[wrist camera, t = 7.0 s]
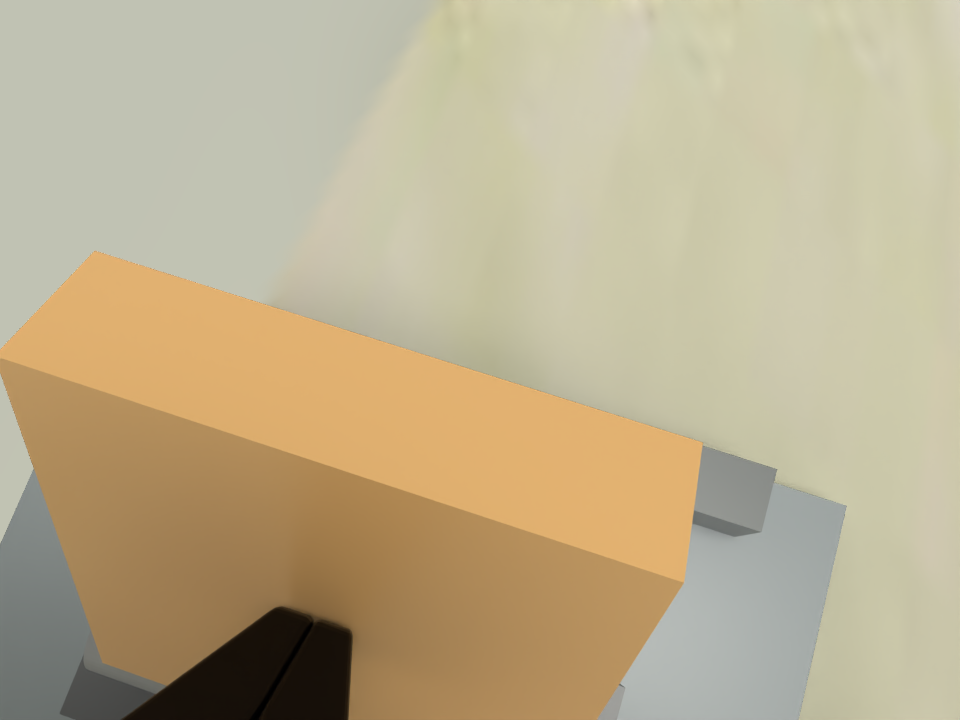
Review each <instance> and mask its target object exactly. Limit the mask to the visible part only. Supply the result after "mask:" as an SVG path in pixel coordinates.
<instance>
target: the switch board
mask: <svg viewBox="0 0 960 720" xmlns="http://www.w3.org/2000/svg"><path fill="white" fill-rule="evenodd" d="M776 471H777V469H775V468H772V467H768V466H765V465H762V464H759V463H756V462H753V461H749V460H746V459H743V458H740V457H737V456H734V455H730V454H727V453H724V452H721V451H718V450H715V449H711V448H708V447H705V446H702V453H701V460H700V468H699V475H698V483H697V490H696V498H695V505H694V513H693V520H692V528H691V535H690V543H689V550H688V558H687V565H686V573H685V580H684V584H683V585H682V587H681V588H680V590H679V592H678V593H677V595H676V596H675V598H674V599H673V601H672V603H671V604H670V606H669V607H668V609H667V610H666V612H665V614H664V615H663V617H662V618H661V620H660V621H659V623H658V625H657V626H656V628H655V629H654V631H653V632H652V634H651V635H650V637H649V639H648V640H647V642H646V643H645V645H644V646H643V648H642V650H641V651H640V653H639V654H638V656H637V657H636V659H635V661H634V662H633V664H632V665H631V667H630V668H629V670H628V672H627V673H626V675H625V676H624V678H623V679H622V681H621V682H620V684H619V686H618V687H617V689H616V690H615V692H614V693H613V695H612V697H611V698H610V700H609V701H608V703H607V704H606V706H605V708H604V709H603V711H602V712H601V714H600V715H599V717H598V718H597V720H799V715H800V711H801V706H802V702H803V697H804V693H805V689H806V684H807V680H808V675H809V671H810V666H811V662H812V658H813V653H814V649H815V644H816V640H817V635H818V631H819V626H820V622H821V618H822V613H823V609H824V604H825V600H826V595H827V591H828V587H829V582H830V578H831V573H832V569H833V564H834V560H835V556H836V551H837V547H838V542H839V538H840V533H841V529H842V524H843V520H844V516H845V511H846V507H847V506H846V505H842V504H839V503H836V502H833V501H830V500H827V499H823V498H820V497H817V496H814V495H811V494H808V493H805V492H801V491H798V490H795V489H792V488H789V487H786V486H782V485H779V484H776V483H774V480H775V476H776ZM90 631H91V629H90V626H89V623H88V620H87V618H86V615H85V612H84V609H83V606H82V603H81V601H80V598H79V595H78V592H77V589H76V586H75V584H74V581H73V578H72V575H71V572H70V569H69V567H68V564H67V561H66V558H65V555H64V552H63V550H62V547H61V544H60V541H59V538H58V535H57V532H56V530H55V527H54V524H53V521H52V518H51V515H50V513H49V510H48V507H47V504H46V501H45V498H44V496H43V493H42V490H41V487H40V484H39V481H38V479H37V476H36V473H35V470H33V472H32V474H31V477H30V479H29V481H28V483H27V485H26V488H25V490H24V492H23V494H22V497H21V499H20V501H19V503H18V506H17V508H16V510H15V513H14V515H13V517H12V519H11V521H10V524H9V526H8V528H7V530H6V533H5V535H4V537H3V540H2V542H1V544H0V720H121V719H122V718H123V717H125V716H126V715H128V714H129V713H130V712H132V711H133V710H134V709H136V708H137V707H139V706H140V705H141V704H143V703H144V702H145V701H147V700H148V699H149V698H151V697H152V696H154V695H155V694H154V693H152V692H149V691H146V690H143V689H140V688H138V687H135V686H132V685H129V684H126V683H123V682H121V681H118V680H115V679H112V678H109V677H107V676H104V675H101V674H98V673H95V672H93V671H90V670H87V669H86V668H85V666H84V660H83V659H84V650H85V646H86V642H87V639H88V636H89V633H90Z"/></svg>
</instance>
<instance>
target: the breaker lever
mask: <svg viewBox="0 0 960 720" xmlns="http://www.w3.org/2000/svg"><path fill="white" fill-rule="evenodd" d="M0 374H1V376H2V379H3V382H4V385H5V388H6V391H7V393H8V396H9V399H10V402H11V405H12V408H13V411H14V413H15V416H16V419H17V422H18V425H19V427H20V430H21V433H22V436H23V439H24V442H25V444H26V447H27V450H28V453H29V456H30V459H31V462H32V464H33V467H34V470H35V473H36V476H37V479H38V481H39V484H40V487H41V490H42V493H43V496H44V498H45V501H46V504H47V507H48V510H49V513H50V515H51V518H52V521H53V524H54V527H55V530H56V532H57V535H58V538H59V541H60V544H61V547H62V550H63V552H64V555H65V558H66V561H67V564H68V567H69V569H70V572H71V575H72V578H73V581H74V584H75V586H76V589H77V592H78V595H79V598H80V601H81V603H82V606H83V609H84V612H85V615H86V618H87V620H88V623H89V626H90V629H91V631H90V633H89V636H88V639H87V642H86V646H85V650H84V659H83V660H84V666H85V668H86V669H87V670H90V671H93V672H95V673H98V674H101V675H104V676H107V677H109V678H112V679H115V680H118V681H121V682H123V683H126V684H129V685H132V686H135V687H138V688H140V689H143V690H146V691H149V692H152V693H154V694H156V693H158V692H159V691H160V690H162V689H163V688H165V687H166V686H167V685H169V684H170V683H171V682H173V681H174V680H176V679H177V678H178V677H180V676H181V675H182V674H184V673H185V672H186V671H188V670H189V669H191V668H192V667H193V666H195V665H196V664H197V663H199V662H200V661H202V660H203V659H204V658H206V657H207V656H208V655H210V654H211V653H213V652H214V651H215V650H217V649H218V648H219V647H221V646H222V645H223V644H225V643H226V642H228V641H229V640H230V639H232V638H233V637H234V636H236V635H237V634H239V633H240V632H241V631H243V630H244V629H245V628H247V627H248V626H250V625H251V624H252V623H254V622H255V621H256V620H258V619H259V618H260V617H262V616H263V615H265V614H266V613H267V612H269V611H270V610H272V609H273V608H275V607H279V606H284V607H287V608H290V609H293V610H296V611H299V612H302V613H305V614H308V615H310V616H311V617H312V618H313V619H314V623H315V622H316V621H317V620H325V621H328V622H331V623H334V624H337V625H340V626H343V627H345V628H348V629H350V630H351V631H352V634H353V646H352V665H351V684H350V703H349V720H597V718H598V717H599V715H600V714H601V712H602V711H603V709H604V708H605V706H606V704H607V703H608V701H609V700H610V698H611V697H612V695H613V693H614V692H615V690H616V689H617V687H618V686H619V684H620V682H621V681H622V679H623V678H624V676H625V675H626V673H627V672H628V670H629V668H630V667H631V665H632V664H633V662H634V661H635V659H636V657H637V656H638V654H639V653H640V651H641V650H642V648H643V646H644V645H645V643H646V642H647V640H648V639H649V637H650V635H651V634H652V632H653V631H654V629H655V628H656V626H657V625H658V623H659V621H660V620H661V618H662V617H663V615H664V614H665V612H666V610H667V609H668V607H669V606H670V604H671V603H672V601H673V599H674V598H675V596H676V595H677V593H678V592H679V590H680V588H681V587H682V585H683V584H684V580H685V573H686V565H687V558H688V550H689V543H690V535H691V528H692V520H693V513H694V505H695V498H696V490H697V483H698V475H699V468H700V460H701V453H702V445H703V442H699V441H696V440H693V439H690V438H687V437H684V436H680V435H677V434H674V433H671V432H668V431H665V430H661V429H658V428H655V427H652V426H649V425H646V424H642V423H639V422H636V421H633V420H630V419H627V418H623V417H620V416H617V415H614V414H611V413H608V412H604V411H601V410H598V409H595V408H592V407H588V406H585V405H582V404H579V403H576V402H573V401H569V400H566V399H563V398H560V397H557V396H554V395H550V394H547V393H544V392H541V391H538V390H535V389H531V388H528V387H525V386H522V385H519V384H516V383H512V382H509V381H506V380H503V379H500V378H497V377H493V376H490V375H487V374H484V373H481V372H478V371H474V370H471V369H468V368H465V367H462V366H459V365H455V364H452V363H449V362H446V361H443V360H440V359H436V358H433V357H430V356H427V355H424V354H421V353H417V352H414V351H411V350H408V349H405V348H401V347H398V346H395V345H392V344H389V343H386V342H382V341H379V340H376V339H373V338H370V337H367V336H363V335H360V334H357V333H354V332H351V331H348V330H344V329H341V328H338V327H335V326H332V325H329V324H325V323H322V322H319V321H316V320H313V319H310V318H306V317H303V316H300V315H297V314H294V313H291V312H287V311H284V310H281V309H278V308H275V307H272V306H268V305H265V304H262V303H259V302H256V301H253V300H249V299H246V298H243V297H240V296H237V295H233V294H230V293H227V292H224V291H221V290H218V289H214V288H211V287H208V286H205V285H202V284H198V283H195V282H192V281H189V280H186V279H183V278H179V277H176V276H173V275H170V274H167V273H164V272H160V271H157V270H154V269H151V268H148V267H145V266H142V265H138V264H135V263H132V262H128V261H125V260H122V259H119V258H116V257H113V256H110V255H107V254H104V253H100V252H97V251H94V252H93V253H92V254H91V255H90V256H89V257H88V258H87V259H86V260H85V262H84V263H83V264H82V265H81V266H80V267H79V268H78V269H77V270H76V271H75V272H74V273H73V274H72V275H71V276H70V277H69V278H68V279H67V280H66V281H65V282H64V283H63V284H62V285H61V287H60V288H59V289H58V290H57V291H56V292H55V293H54V294H53V295H52V296H51V297H50V298H49V299H48V300H47V301H46V302H45V303H44V304H43V305H42V306H41V308H39V310H38V311H37V312H36V313H35V314H34V315H33V316H32V317H31V318H30V319H29V320H28V321H27V322H26V323H25V324H24V325H23V326H22V327H21V328H20V329H19V330H18V331H17V333H16V334H15V335H14V336H13V337H12V338H11V339H10V340H9V341H8V342H7V343H6V344H5V345H4V346H3V347H2V348H1V349H0Z"/></svg>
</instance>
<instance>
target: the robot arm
mask: <svg viewBox="0 0 960 720" xmlns="http://www.w3.org/2000/svg"><path fill="white" fill-rule="evenodd" d="M352 646H353V634H352V631H351V630H350V629H348V628H345V627H343V626H340V625H337V624H334V623H331V622H328V621H325V620H317V621H316V622H315V623H314V619H313V618H312V617H311V616H310V615H308V614H305V613H302V612H299V611H296V610H293V609H290V608H287V607H284V606H279V607H275V608H273V609H272V610H270V611H269V612H267V613H266V614H265V615H263V616H262V617H260V618H259V619H258V620H256V621H255V622H254V623H252V624H251V625H250V626H248V627H247V628H245V629H244V630H243V631H241V632H240V633H239V634H237V635H236V636H234V637H233V638H232V639H230V640H229V641H228V642H226V643H225V644H223V645H222V646H221V647H219V648H218V649H217V650H215V651H214V652H213V653H211V654H210V655H208V656H207V657H206V658H204V659H203V660H202V661H200V662H199V663H197V664H196V665H195V666H193V667H192V668H191V669H189V670H188V671H186V672H185V673H184V674H182V675H181V676H180V677H178V678H177V679H176V680H174V681H173V682H171V683H170V684H169V685H167V686H166V687H165V688H163V689H162V690H160V691H159V692H158V693H156V694H155V695H154V696H152V697H151V698H149V699H148V700H147V701H145V702H144V703H143V704H141V705H140V706H139V707H137V708H136V709H134V710H133V711H132V712H130V713H129V714H128V715H126V716H125V717H123V718H122V719H121V720H349V703H350V684H351V665H352Z"/></svg>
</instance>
